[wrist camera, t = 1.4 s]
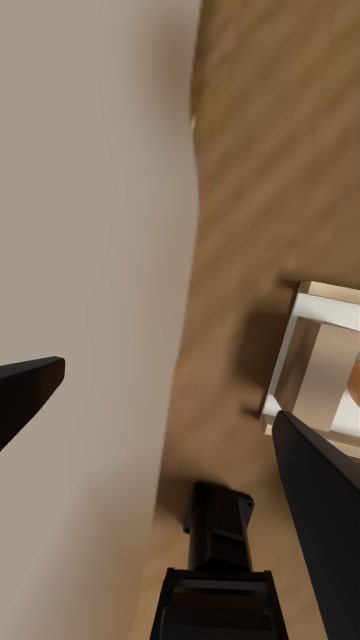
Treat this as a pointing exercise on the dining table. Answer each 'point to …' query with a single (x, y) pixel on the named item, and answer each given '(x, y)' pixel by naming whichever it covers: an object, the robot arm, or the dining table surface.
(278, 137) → the dining table surface
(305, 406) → the paddle block
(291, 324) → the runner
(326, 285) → the lane rails
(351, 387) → the ball
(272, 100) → the dining table surface
